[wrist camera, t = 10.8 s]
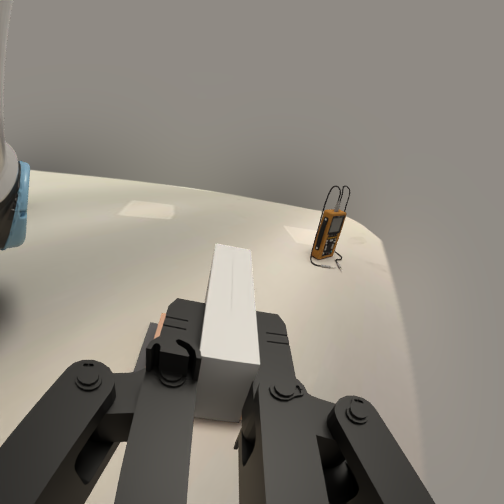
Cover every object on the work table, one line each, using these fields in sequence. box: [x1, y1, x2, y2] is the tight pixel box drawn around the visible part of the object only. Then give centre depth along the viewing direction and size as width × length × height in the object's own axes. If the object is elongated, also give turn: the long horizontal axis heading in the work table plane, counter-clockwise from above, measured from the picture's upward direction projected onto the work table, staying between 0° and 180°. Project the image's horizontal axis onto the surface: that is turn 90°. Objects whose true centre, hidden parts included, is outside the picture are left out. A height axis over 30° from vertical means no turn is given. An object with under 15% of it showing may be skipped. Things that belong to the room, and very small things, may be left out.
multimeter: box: [310, 186, 350, 271], centre depth 78 cm, size 15×10×20 cm
